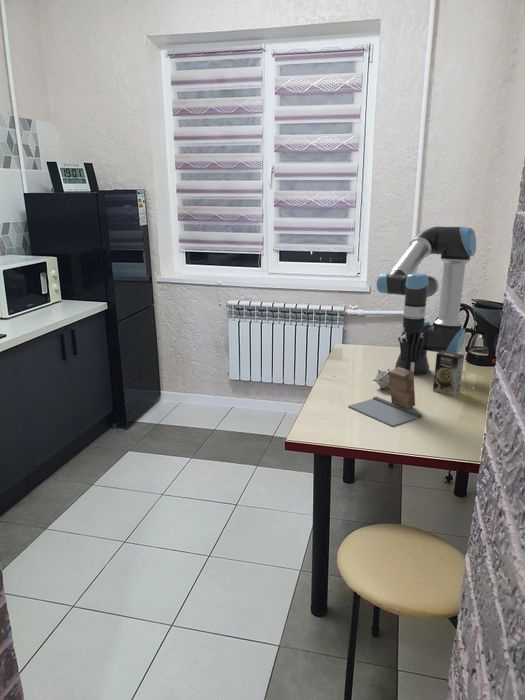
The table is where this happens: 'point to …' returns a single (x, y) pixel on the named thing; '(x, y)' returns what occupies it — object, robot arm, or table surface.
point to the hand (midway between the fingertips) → (408, 378)
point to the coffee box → (448, 373)
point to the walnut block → (402, 387)
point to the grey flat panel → (385, 411)
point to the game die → (383, 379)
